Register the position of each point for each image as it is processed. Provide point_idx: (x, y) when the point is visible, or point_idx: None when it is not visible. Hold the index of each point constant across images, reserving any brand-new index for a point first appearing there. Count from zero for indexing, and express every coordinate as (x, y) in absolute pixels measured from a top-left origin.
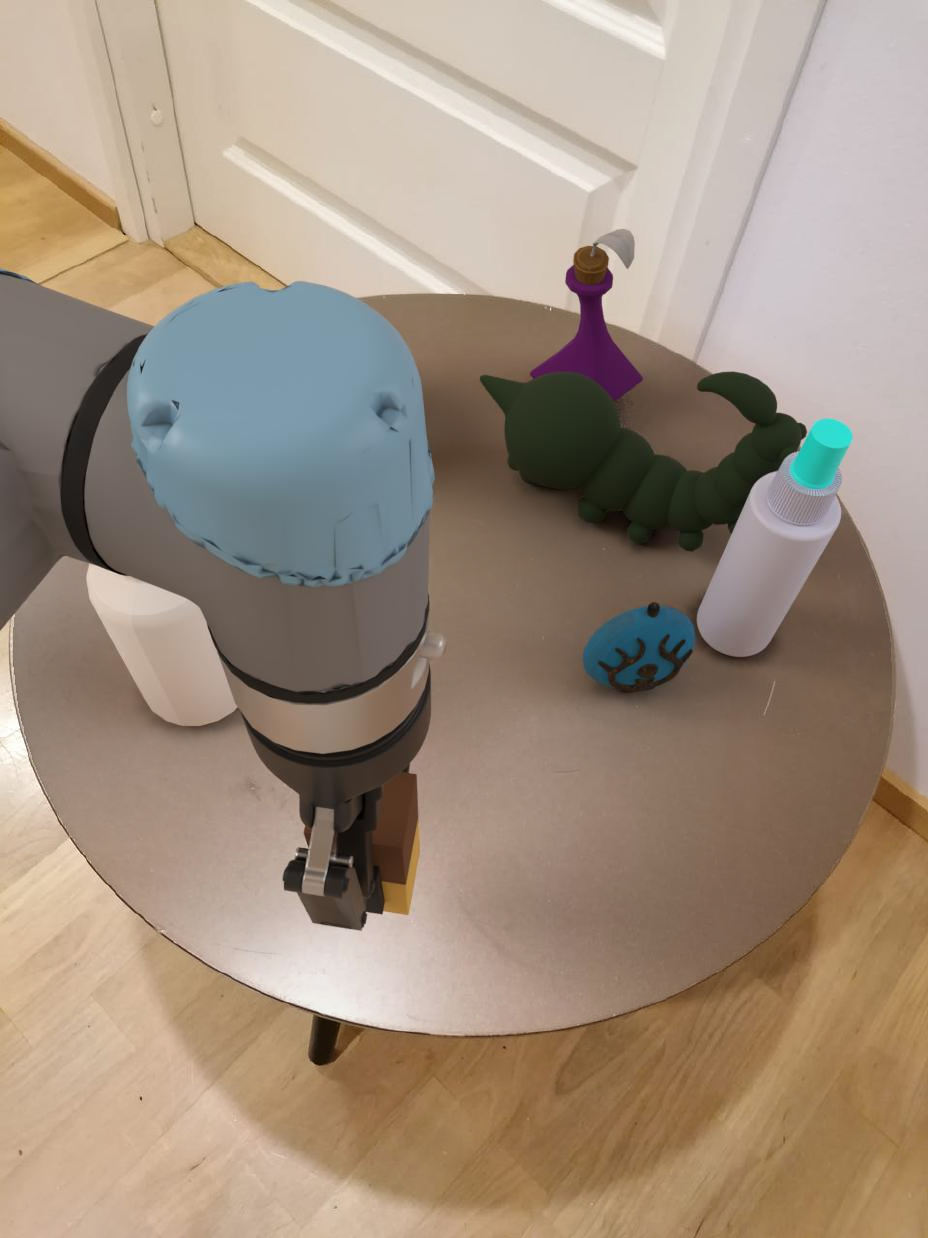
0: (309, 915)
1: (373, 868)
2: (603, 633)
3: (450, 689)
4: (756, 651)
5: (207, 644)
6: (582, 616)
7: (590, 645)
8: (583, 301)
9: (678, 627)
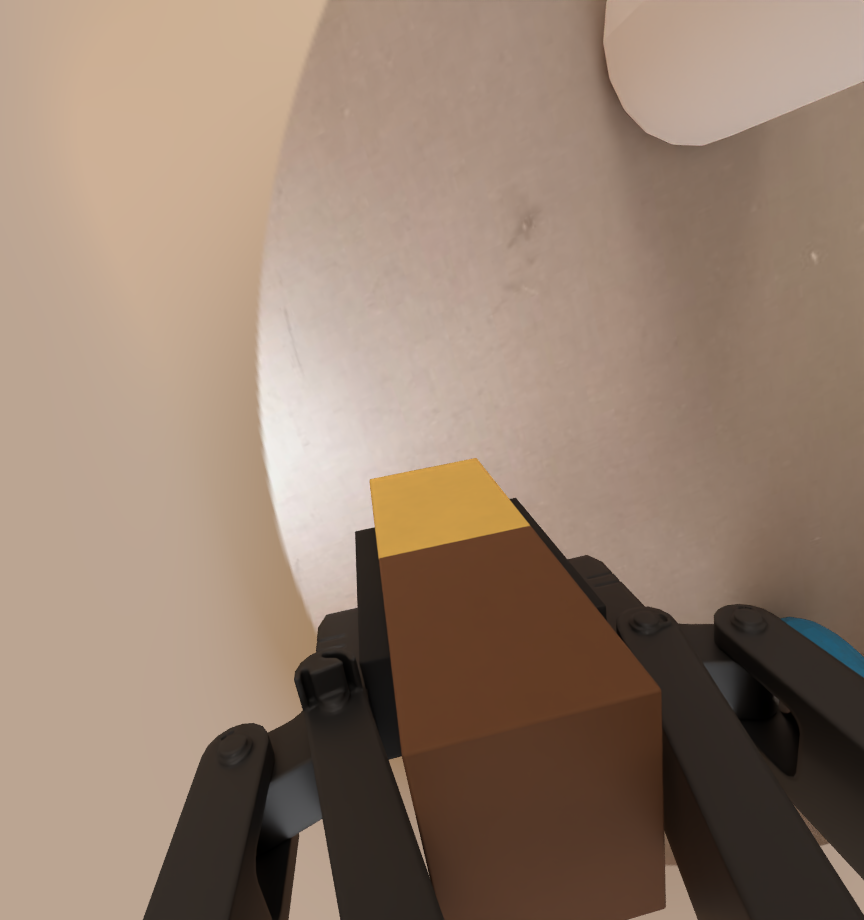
0: (170, 847)
1: None
2: None
3: (729, 452)
4: None
5: (862, 17)
6: (850, 572)
7: (842, 660)
8: None
9: None
